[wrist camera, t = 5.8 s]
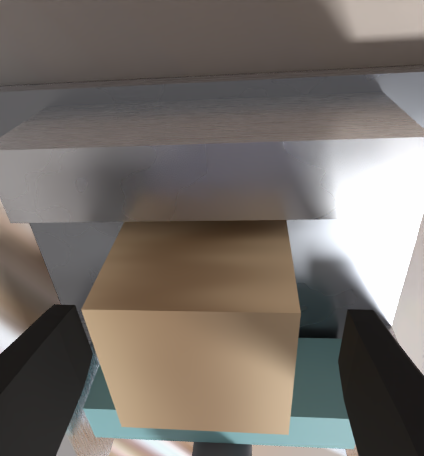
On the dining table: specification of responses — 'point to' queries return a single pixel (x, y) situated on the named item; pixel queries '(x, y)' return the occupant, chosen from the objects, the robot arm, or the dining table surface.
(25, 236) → the dining table surface
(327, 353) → the ram
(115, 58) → the dining table surface
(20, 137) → the press
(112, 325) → the block
